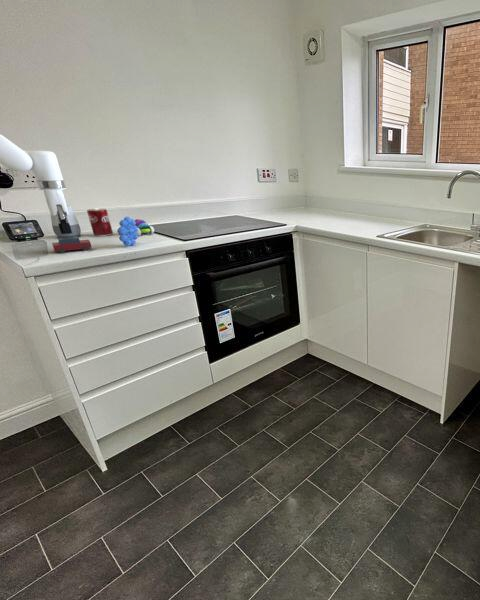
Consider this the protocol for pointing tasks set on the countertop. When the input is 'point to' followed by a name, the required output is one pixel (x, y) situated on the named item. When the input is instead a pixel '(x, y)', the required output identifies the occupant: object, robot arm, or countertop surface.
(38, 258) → the countertop surface
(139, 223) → the multicoloured rounded piece
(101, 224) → the soda can
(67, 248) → the red boxy piece
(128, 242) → the grapes
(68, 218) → the smart speaker
